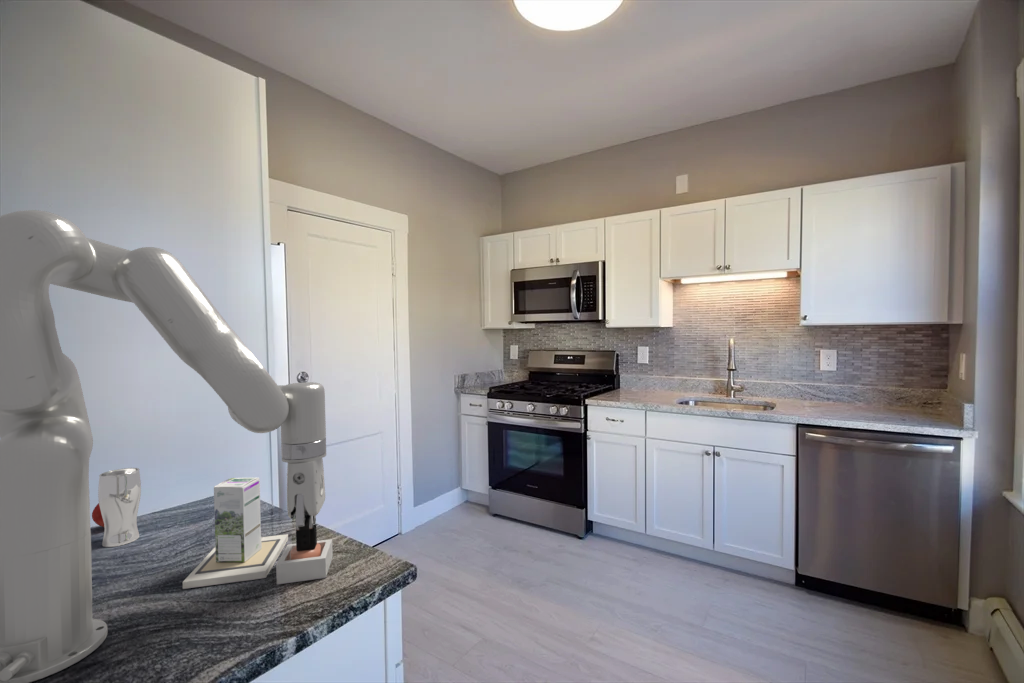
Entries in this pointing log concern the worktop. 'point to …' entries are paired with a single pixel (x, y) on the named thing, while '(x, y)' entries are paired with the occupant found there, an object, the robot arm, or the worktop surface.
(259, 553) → the picture board
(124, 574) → the worktop surface
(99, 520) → the onion
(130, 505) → the beer glass
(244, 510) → the syrup box
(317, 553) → the button
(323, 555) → the button housing
